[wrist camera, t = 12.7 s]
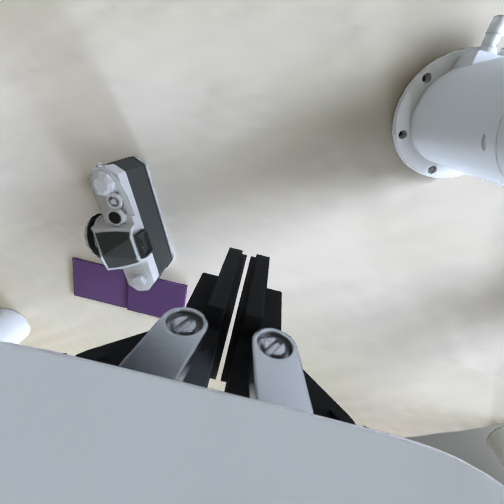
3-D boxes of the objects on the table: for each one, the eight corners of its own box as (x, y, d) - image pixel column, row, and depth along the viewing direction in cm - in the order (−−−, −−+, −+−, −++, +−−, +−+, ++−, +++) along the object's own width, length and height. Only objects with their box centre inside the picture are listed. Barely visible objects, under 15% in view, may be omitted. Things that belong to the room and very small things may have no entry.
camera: (87, 160, 38) (27, 176, 29) (149, 151, 37) (105, 163, 28) (127, 267, 45) (88, 307, 36) (181, 262, 44) (154, 302, 35)
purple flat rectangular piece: (73, 257, 45) (70, 259, 45) (187, 285, 45) (186, 287, 45) (75, 294, 48) (73, 296, 48) (182, 320, 48) (181, 322, 48)
